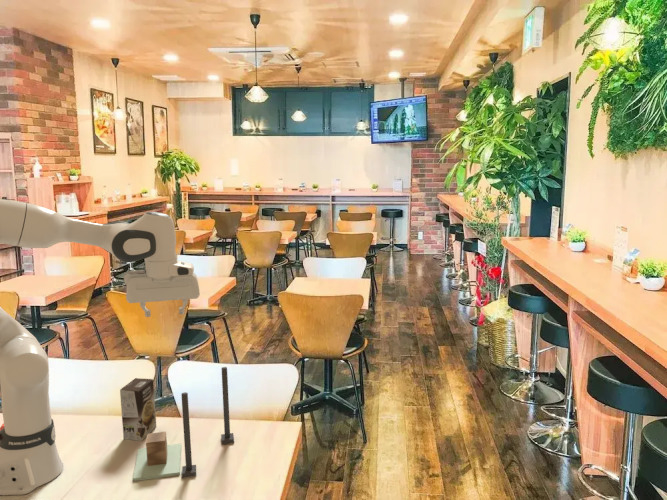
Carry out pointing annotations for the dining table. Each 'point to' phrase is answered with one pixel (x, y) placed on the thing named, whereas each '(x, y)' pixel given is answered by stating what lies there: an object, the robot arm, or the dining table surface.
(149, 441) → the walnut block
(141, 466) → the board
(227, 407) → the post
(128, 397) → the coffee box
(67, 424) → the dining table surface
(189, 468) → the front cord post
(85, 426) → the dining table surface
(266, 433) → the dining table surface
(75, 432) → the dining table surface
